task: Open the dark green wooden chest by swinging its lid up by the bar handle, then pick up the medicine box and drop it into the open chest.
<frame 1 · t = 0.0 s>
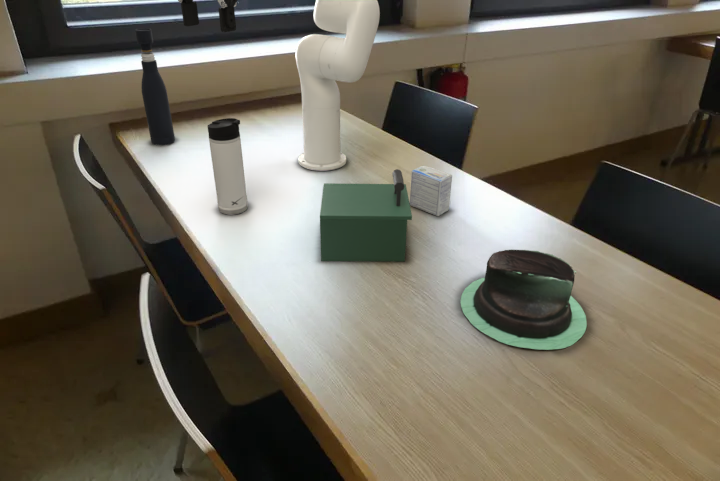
hand: (209, 28, 98), 37 cm above the table, tool pointing down, fingers open, 9 cm apart
chest: (362, 242, 105), on the table
lid: (365, 189, 99), point 12 cm above the table, hinge at 0.0°
dark blue water bottle: (163, 142, 152), on the table
travel mug: (234, 209, 117), on the table
medicine box: (428, 209, 118), on the table
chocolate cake: (521, 310, 88), on the table
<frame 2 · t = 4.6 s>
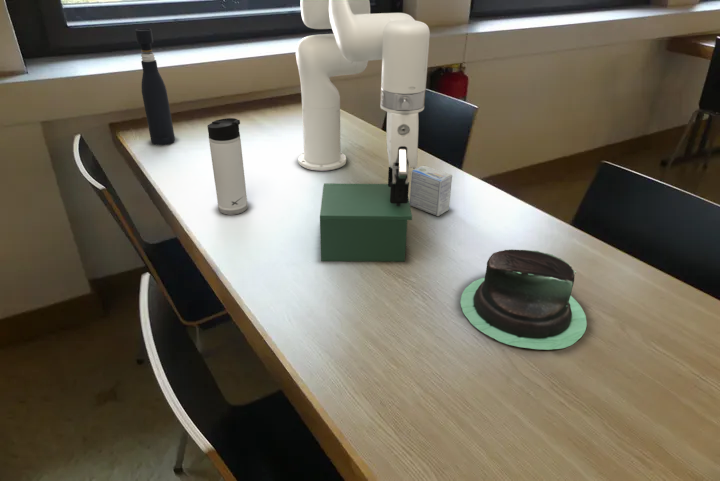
hand: (397, 193, 100), 11 cm above the table, tool pointing down, fingers closed on lid, 6 cm apart
lid: (365, 189, 99), point 12 cm above the table, hinge at 0.0°, touching gripper
everything else where it was.
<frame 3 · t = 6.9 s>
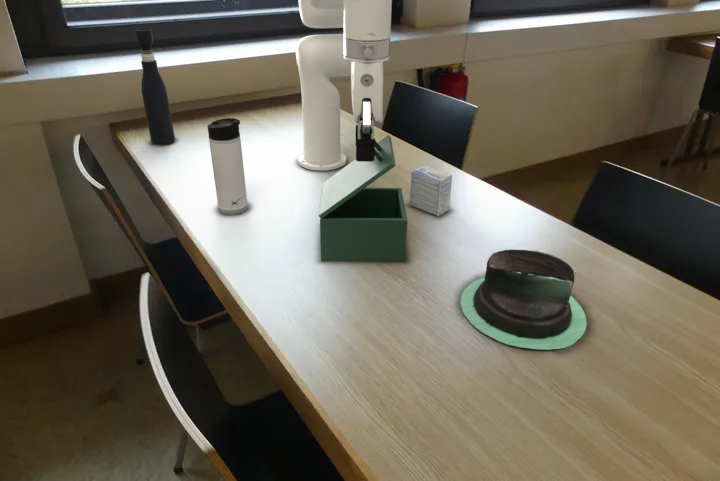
hand: (364, 152, 95), 19 cm above the table, tool pointing down, fingers closed on lid, 6 cm apart
lid: (347, 166, 97), point 16 cm above the table, hinge at 38.9°, touching gripper
everything else where it was.
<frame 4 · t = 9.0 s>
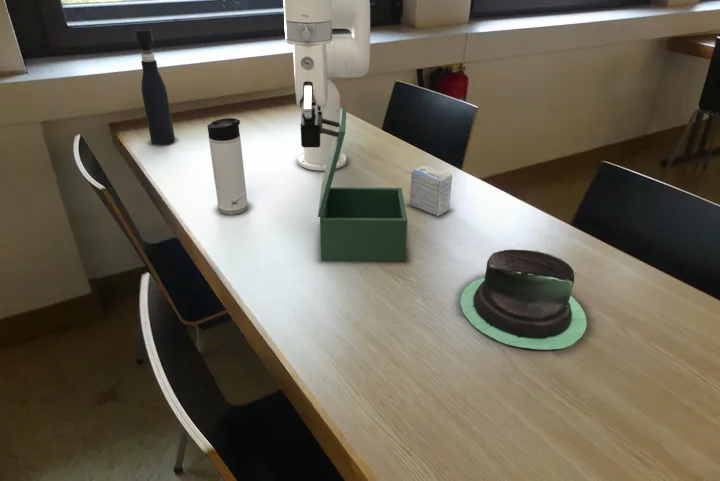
hand: (312, 139, 94), 21 cm above the table, tool pointing down, fingers closed on lid, 6 cm apart
lid: (319, 157, 96), point 18 cm above the table, hinge at 75.3°, touching gripper
everything else where it was.
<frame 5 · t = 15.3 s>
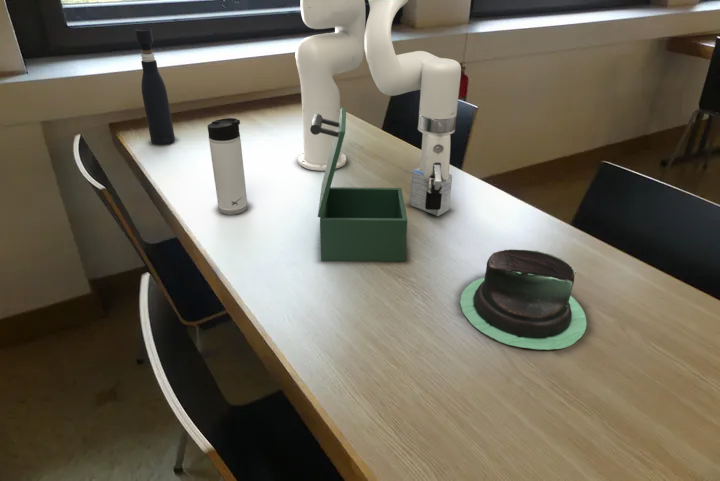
hand: (430, 199, 117), 2 cm above the table, tool pointing down, fingers closed on medicine box, 8 cm apart
lid: (319, 157, 96), point 18 cm above the table, hinge at 75.4°
medicine box: (428, 209, 118), on the table, touching gripper
everything else where it was.
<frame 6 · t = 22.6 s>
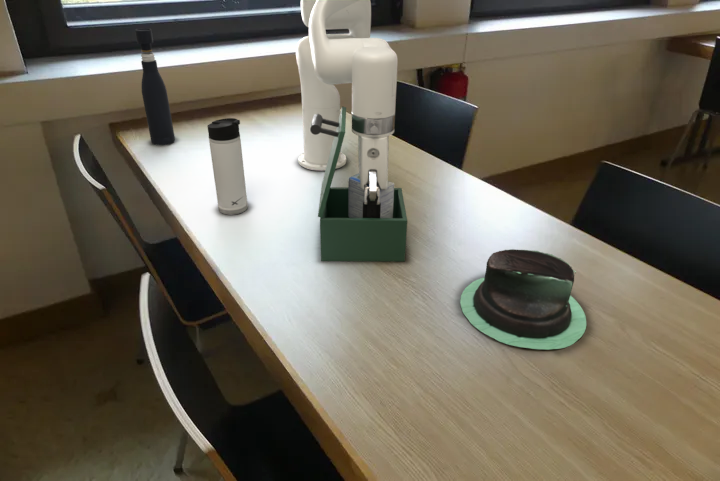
hand: (370, 210, 102), 7 cm above the table, tool pointing down, fingers closed on medicine box, 8 cm apart
medicine box: (370, 221, 103), point 5 cm above the table, touching gripper
everything else where it was.
when the fingers open (10 cm above the table, at t = 46.0 s): medicine box drops 7 cm, resting on chest.
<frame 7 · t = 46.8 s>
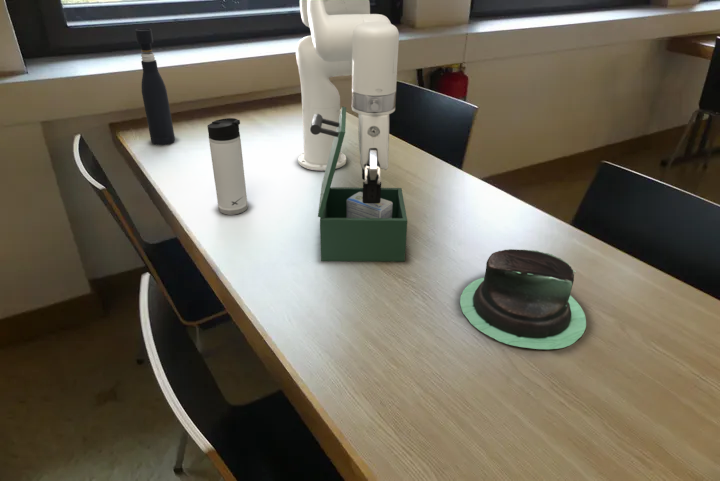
hand: (370, 190, 100), 11 cm above the table, tool pointing down, fingers open, 9 cm apart
medicine box: (368, 240, 105), point 1 cm above the table, touching chest
everything else where it was.
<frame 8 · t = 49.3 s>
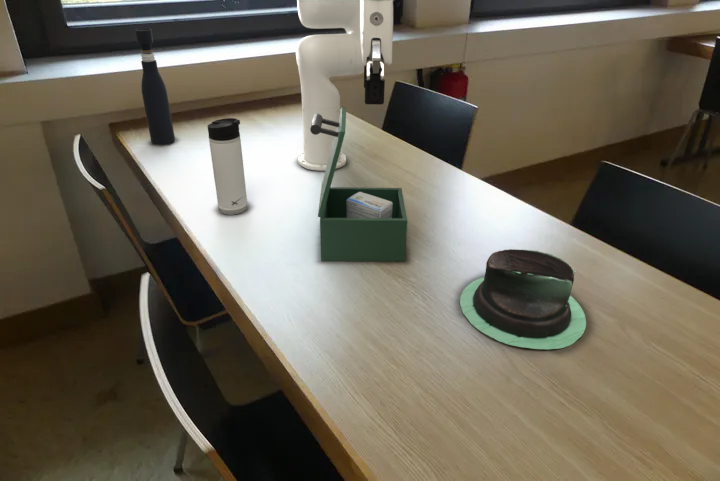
hand: (373, 95, 93), 28 cm above the table, tool pointing down, fingers open, 9 cm apart
nothing on the table moved.
at the end: lid at +75° (first picture: +0°); medicine box inside the target area in the chest (1.3 cm from its centre), point 0.6 cm above the chest's base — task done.
